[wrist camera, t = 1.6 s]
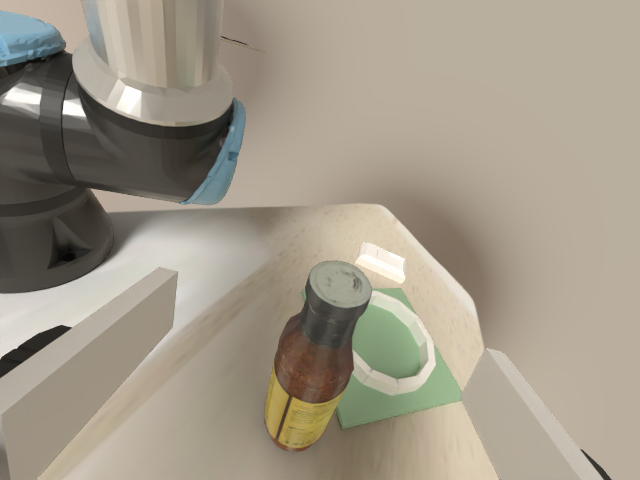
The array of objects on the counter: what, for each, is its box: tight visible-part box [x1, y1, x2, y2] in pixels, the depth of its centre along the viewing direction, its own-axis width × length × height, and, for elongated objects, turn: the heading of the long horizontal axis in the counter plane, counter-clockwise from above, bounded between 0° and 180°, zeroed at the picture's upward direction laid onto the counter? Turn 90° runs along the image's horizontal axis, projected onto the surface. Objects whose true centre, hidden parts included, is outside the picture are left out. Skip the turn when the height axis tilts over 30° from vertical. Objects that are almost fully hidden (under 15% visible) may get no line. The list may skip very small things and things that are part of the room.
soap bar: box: [355, 242, 406, 284], centre depth 54 cm, size 5×9×3 cm, turn 73°
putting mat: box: [302, 288, 462, 429], centre depth 40 cm, size 18×18×3 cm
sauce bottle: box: [265, 261, 372, 451], centre depth 24 cm, size 6×6×20 cm
